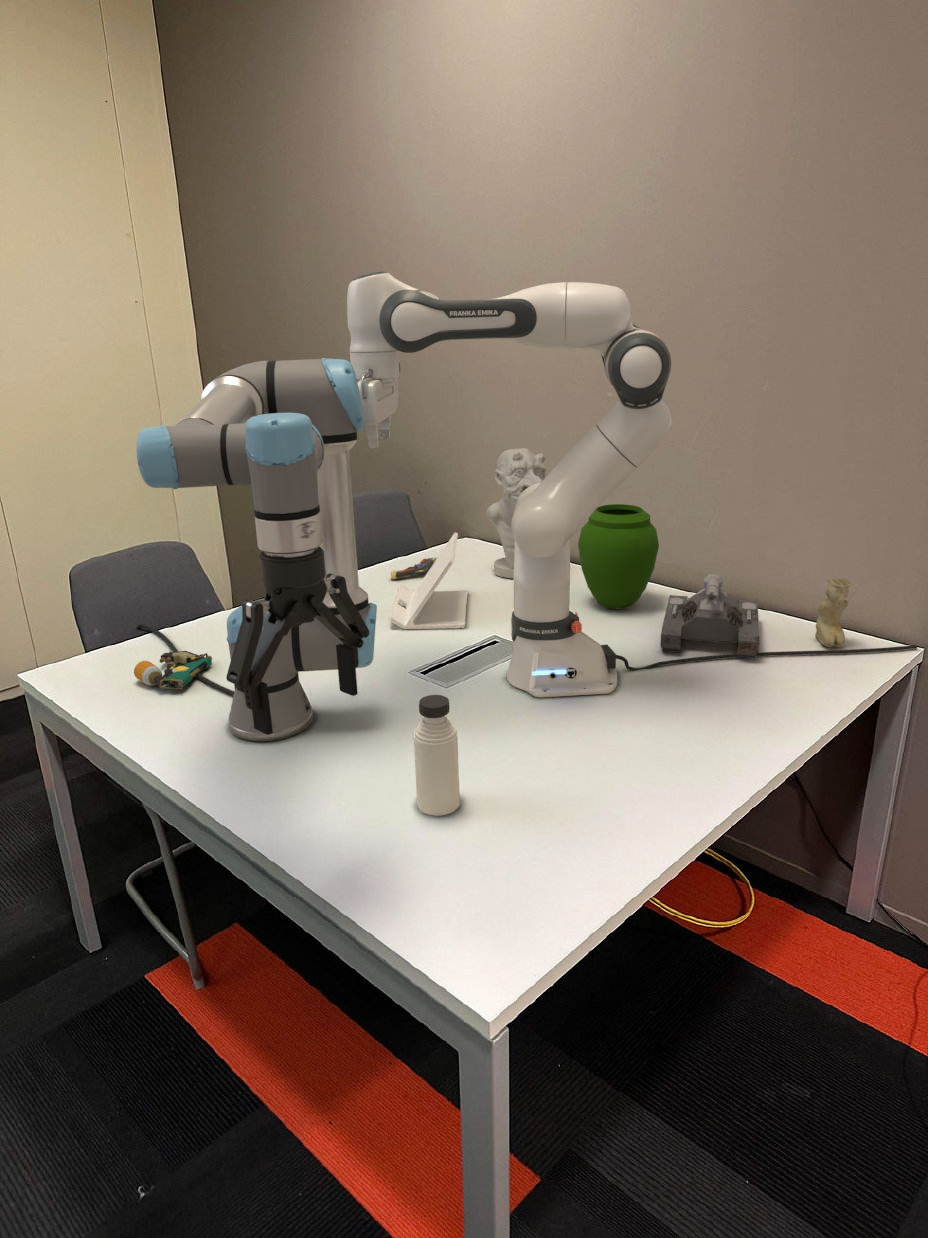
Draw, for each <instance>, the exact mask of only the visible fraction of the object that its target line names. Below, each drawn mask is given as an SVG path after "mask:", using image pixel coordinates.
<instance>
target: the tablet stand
mask: <svg viewBox="0 0 928 1238" xmlns="http://www.w3.org/2000/svg"><path fill="white" fill-rule="evenodd" d="M458 537H459V533H458V532H456V531H455V532H453V534H452V535H451V537H450V539H449V540H448V542H447V543H446V544H445V546H444V548H443V549H442V551H441V552H440V554H439V555H438V556H437V557H436V558H437V559H436V561H435V562H434V563H433V564H431V566H430V567H429V569H428V571H427V573H426V574H425V575H424V577H423V579H422V580H421V581H420V583H419V584H418V585H417V587H416V589H415V590H412V589H410V588H409V587H407V586H406V585H403V584H400V585H399V586H398V589H397V591H396V595H395V598H394V601H393V604H392V607H391V610H390V612H389V613H390V614H389V617H388V621H389V622H391V623H392V624H394V625H396V626H398V627H399V628H401V629H402V630H426V629H427V630H429V629H430V630H431V629H435V630H436V629H437V630H438V629H464V628H465V627H466V618H467V617H466V616H467V605H468V591H467V590H436V589H437V587H438V585H440V582H441V581H442V580H443V578H444V577H445V575H446V574H447V573H448V571H449V570H450V569H451V567H452V566H453V564H454V562H455V558H456V553H457V545H458ZM399 603H400V604H399ZM402 605H403V606H405V607H403V606H402Z"/></svg>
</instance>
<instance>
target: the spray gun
mask: <svg viewBox="0 0 928 1238" xmlns="http://www.w3.org/2000/svg"><path fill="white" fill-rule="evenodd" d="M178 651H179V650H178ZM212 660H213V657H212V656H211V655H208V653H207V652H205V653H201V654H197V653H194V652H192V651H191V652H190V651H188V650H180V651H179V652H173V651H169V652H164V653H162V654H161V655H160V658H159V660H158V662H159V663H161V664H163V663H165V664H166V668H165V670H163V672H164V674H163V673H162V669H160V668H159V666H157V665H156V664H154V663H152V662H151V661H149V660H141V661H139V662H138V663H136V665H135V666H134V668H133V675H134V677H135V678H136V679H137V680H139V681H140V682H142V683H143V684H145V685H147V686H155V685H157V686H158V687H160V688H161V689H171V690H172V689H173V690H182V689H184V687H185V686H186V685H188V684H189V683H190V682H191V681H192V679H193V678H195V677H196V674H197V673H199V674H200V673H201V672H202V671H203V670H206V669H208V668H209V667H210V666H211V665H212V662H213V661H212ZM178 663H179V664H181V665H179V666H176V665H177V664H178Z"/></svg>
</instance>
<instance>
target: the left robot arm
mask: <svg viewBox="0 0 928 1238" xmlns="http://www.w3.org/2000/svg"><path fill="white" fill-rule="evenodd" d="M357 382H358V379H356V375H355V371H354V368H353V366H352V365H351V362H350V361H349V360H347V359H344V358H325V357H322V358H312V359H310V358H308V359H307V358H306V359H288V360H287V359H285V360H260V361H259V360H258V361H253V362H249V363H246V364H242V365H239V366H237V367H235V368H232V369H229V370H228V371H226V372H223V373H222V374H220V375H219V376H217V377H215V378H214V379H212V380H211V381H210V382H209V383H208V384H206V386H205V387H204V389H203V391H202V393H201V395H200V401H199V402H198V403H196V405H194V407H192V408H191V409H190V410H189V411H188V412H187V413H186V414H185V415H184V416H183V417H181V419H180V420H178V422H177V423H175V424H174V425H165V424H161V425H158V426H151V427H145V428H143V429H141V431H140V432H139V433H138V435H137V436H138V437H137V440H136V459H137V465H138V470H139V474H140V476H141V478H142V481H143V482H144V483H145V484H146V485H147V486H149V487H150V488H153V489H172V490H178V489H183V488H184V489H185V488H186V489H187V488H203V487H207V488H208V487H223V486H250V485H251V494H252V500H253V510H254V511H253V512H254V524H255V531H256V534H255V535H256V542H257V548H258V550H260V551H261V553H260V554H259V556H258V557H259V564H260V565H259V566H260V573H261V581H262V583H263V585H264V586H263V587H264V588H265V594H264V598H261V599H257V600H251V599H244V600H243V601H242V603H241V605H240V606H238V607H236V608H235V609H234V610H232V611H231V612H230V613H229V614H228V617H227V619H226V633H227V634H226V635H227V637H226V641H227V644H228V650H229V658H230V662H229V665H228V669H227V673H226V676H225V677H226V678H225V679H226V681H227V682H228V683H231V684H233V685H234V690H232V689H229V688H227V687H224V686H222V685H220V684H219V683H216V682H215V681H212V680H210V679H208V678H207V677H205V676H204V675H202V674H201V673H200V672H199V673H197V674H196V676H195V677H196V678H197V679H199V680H200V681H202V682H204V683H206V684H207V685H209V686H211V687H213V688H215V689H217V690H219V691H221V692H223V693H226V694H228V695H230V696H232V700H231V707H230V712H229V715H228V725H229V730H230V733H231V734H232V735H233V736H234V737H237V738H239V739H241V740H245V741H249V742H272V741H279V740H283V739H287V738H290V737H293V736H295V735H297V734H300V733H302V732H303V731H305V730H306V729H307V728H308V727H309V726H310V725H311V724H312V723H313V719H314V715H313V707H312V703H311V702H310V700H309V697H308V696H307V694H306V692H305V690H304V687H303V686H302V683H301V681H300V676H299V673H301V672H319V671H336V670H337V674H338V675H337V676H338V684H339V691H340V692H342V693H345V694H347V695H350V696H352V697H355V696H357V695H358V694H359V693H358V680H357V669H362V668H366V667H368V666H370V665H371V664H372V663H373V660H374V653H375V640H376V639H375V638H376V626H377V625H376V624H377V611H378V606H377V604H376V603H373V602H370V601H369V593H368V592H367V591H365V590H364V589H363V588H362V587H361V586H360V582H359V569H358V568H359V567H358V556H357V555H358V553H357V542H356V540H357V539H356V526H355V525H356V524H355V513H354V501H353V500H354V499H353V488H352V487H353V486H352V485H353V484H352V473H351V458H350V451H351V449H353V447H354V446H355V444H357V442H358V432H361V431H363V430H365V421H364V415H363V408H362V403H361V397H360V392H359V388H358V383H357ZM141 628H143V629H146V630H148V631H150V632H151V633H154V634H156V635H157V636H158V637H160V638H161V640H163V641H164V642H165V643H166V644H167V645H168V646H169V647H170V648H171V651H172V652H179V650H178V649H177V647H176V646H175V644H174V643H173V642H172V640H170V639H169V638H168V637H167V636H166V635H165V634H164V633H162V632H161V631H159V630H158V629H155V628H154V627H153V626H150V625H148V624H145V623H139V624H138V625H137V626H136V627H135V629H136V630H140V629H141ZM310 694H312V692H311V690H310Z"/></svg>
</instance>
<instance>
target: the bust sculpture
mask: <svg viewBox="0 0 928 1238" xmlns="http://www.w3.org/2000/svg"><path fill="white" fill-rule="evenodd" d="M545 461H546V456H545V455H544V454H543V452H541V453H540V452H539V453H537V454H535V453H533V452H532V451H531V450H529V449H528V448H525V447H522V448H512V449H506V450H504V451H502V452H501V454H500V455H499V457H498V459H497V461H496V468H495V471H494V480H495V482H496V484H497V486H498V487H501V488H502V494H501V497H500V499H499V501H496V502H494V503H492V504H491V505H490V506H488V508H487V509H486V513H485V514H486V517H487V518H488V519H489V520H490V522H491V523H492V524H493V526H494V527H495V529H496V532H497V534H498V537H499V540H500V542H501V546H502V548H503V553H504V557H502V558H498V559H496V560H495V561H494V562H493V573H494V574H495V575H496V576H497V577H500V578H506V579H514V550H515V540H514V538H513V535H512V531H511V522H512V518H513V514H514V509H515V506H516V503H517V500H518V498H519V496H520V495H521V493H522V492H523V491H524V490H525V489H527V488H528V487H530V486H532V485H534V484H537V483H541V482H542V481H543V480H544V479H545V478H546V471H547V470H546V469H547V468H546V466H545V464H544V462H545Z"/></svg>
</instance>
